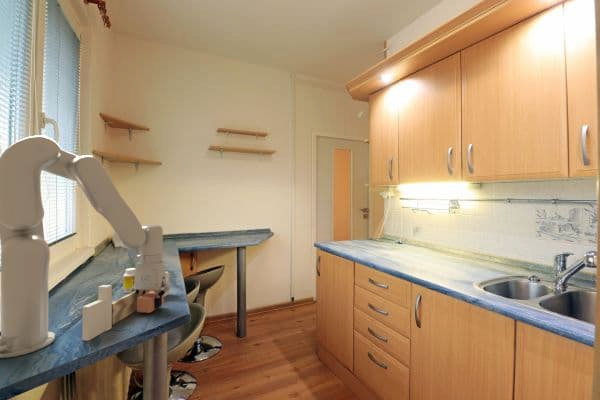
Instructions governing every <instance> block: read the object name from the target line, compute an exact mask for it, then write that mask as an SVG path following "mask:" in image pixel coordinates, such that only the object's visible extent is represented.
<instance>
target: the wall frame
mask: <svg viewBox="0 0 600 400" xmlns="http://www.w3.org/2000/svg"><path fill="white" fill-rule="evenodd" d="M169 272H170V271H166V282H167V284H168V285H169V286H170V283H169V279H170V277H169ZM112 289H113V285H111V284H102V285H99V286H98V288H97V290H98V291H97V294H98V295H97V300H95V301H93V302H91V303H88V304H85V305H83V306H82V326H81V327H82V335H81V336H82V337H81V338H82V341H87V342H89V341H90V340H92V339H94V338H96V337H98V336H100V335H101V334H102V333H104V332H107V331H109V330H111V329H112V327H113V325H112V302H113V294H112V293H113V292H112V291H113V290H112ZM163 289H164V287H163V288H162V290H163ZM169 290H170V289H169ZM169 290H168V291H166V292H165V293H164V298H165V297H167V296H169ZM158 291H159V290H158Z"/></svg>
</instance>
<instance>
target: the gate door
mask: <svg viewBox="0 0 600 400" xmlns="http://www.w3.org/2000/svg"><path fill="white" fill-rule="evenodd" d="M148 292H150V291H147V292H146V293H148ZM137 298H138V294H137V293H136V291H134V292H132V293H127V294H125V295H124V296H122V297H119V298H118V299H116V300H113V301H112V326H114V325H115V324H117V323H119V322H120V321H121V320H123V319H125V318H126V317H128V316H130V315H132V314H133V313H134V312H137Z"/></svg>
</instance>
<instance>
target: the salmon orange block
mask: <svg viewBox="0 0 600 400" xmlns="http://www.w3.org/2000/svg"><path fill="white" fill-rule="evenodd" d="M155 298H156V295H155V291H150V292H148V293H146V294H144V295H142V296H140V297H138V298H137V310H136V312H137V313H152V312H153V311H155V310H156V309H155V308H154V300H155ZM164 298H165V297H164V294H163V296H162V304H161V306H160V307H162V306H163V305H164V303H165V299H164Z"/></svg>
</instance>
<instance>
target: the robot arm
mask: <svg viewBox="0 0 600 400" xmlns="http://www.w3.org/2000/svg"><path fill="white" fill-rule="evenodd" d="M42 171H44V172H46V173H49V174H51V175H54V176H58V177H61V178H64V179H68V180H71V181H75V182H77V184H78V185H79V187H80V188H81V190H82V192H83V193H84V195H85V197H86V198H87V200H88V201H89V203H90V206H91V207H92V208H93V209H94V210H95V211H96V212H97V213H98V214H100V215H101V216H102V217H103V218H104V219H105V220H106V221H107V223H109V225H110V226H111V228H112V229H113V230H114V232H113V234H112V240H113V241H114V243H115V244H116V245H118V246H120V247H122V248H124V249H128V250H132V251H133V250H137V249H139V254H138V255H137V256H136V257H137V259H139V262H137V264H136V266H135V268H136V271H135V280H134V284H133V286H132V288H133V289H134V290H135V291H136V293H137V294H138V297H140V296H142V295H144V294H146V292H147V291H155V295H156V298H155V300H154V308H155V310H157V309H158V308H160V307H162V306H161V304H162V296H163V294H164V293H165V292H166V291H168V290H170V289H171V287H170V284H169V285H168V284H167V282H166V272H167V271H166V265H165V262H164V260H163V237H164V236H163V232H164V231H163V230H164V229H163V227H162V226H161V225H158V224H157V225H156V224H148V225H143V226H142V224H141V222H140V220H139V218H138V217H137V215H136V214H135V213H134V211H133V210H132V209H131V208H130V206H129V205H128V203H127V202H126V201H125V199H123V197H122V196H121V194H120V192H119V191H118V189H117V187H116V186H115V184H114V182H113V181H112V178H111V177H110V175H109V173H108V172H107V170H106V168H105V167H104V165H103V164H102V162H101V161H100V160H99V158H97V157H95V156H93V155H81V156H79V155H77V154H74V153H72V152H68V151H67V150H63V149H61V147H60V145H59V144H58V143H57V141H55V140H54V139H53V138H50V137H49V136H45V135H33V136H28V137H25V138H22V139H20V140H18V141H16V142H13V143H12V144H10V145H9V146H8V147H7V148H6V149H5V150H4V152H2V154H1V155H0V249H1V250H0V275H1V276H0V296H1V297H0V300H1V302H0V303H1V304H0V358H1V359H5V358H6V359H7V358H12V357H13V358H14V357H19V356H23V355H27V354H30V353H33V352H35V351H36V352H37V351H39V350H41V349H43V348H45V347H47V346H49V345H51V344H52V343H53V342H54V341H55V340H56V333H55V332H52V331H49V277H50V276H49V271H50V269H49V268H50V258H51V250H50V246H49V244H48V242H47V241H46V240H45V233H44V224H43V223H44V221H43V219H44V217H45V210H44V206H43V201H42V192H41V173H42ZM163 287H164V289H163V290H162V288H163ZM158 290H159V291H158Z"/></svg>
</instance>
